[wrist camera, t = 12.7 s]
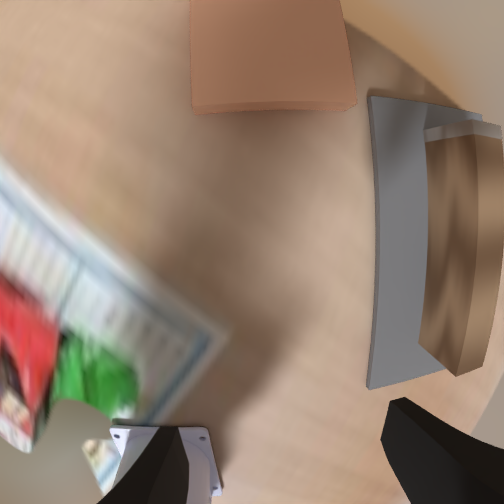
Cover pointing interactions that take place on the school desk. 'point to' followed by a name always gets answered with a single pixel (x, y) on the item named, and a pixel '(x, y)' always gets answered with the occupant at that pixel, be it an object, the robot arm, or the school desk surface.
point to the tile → (269, 56)
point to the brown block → (462, 241)
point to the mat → (401, 235)
